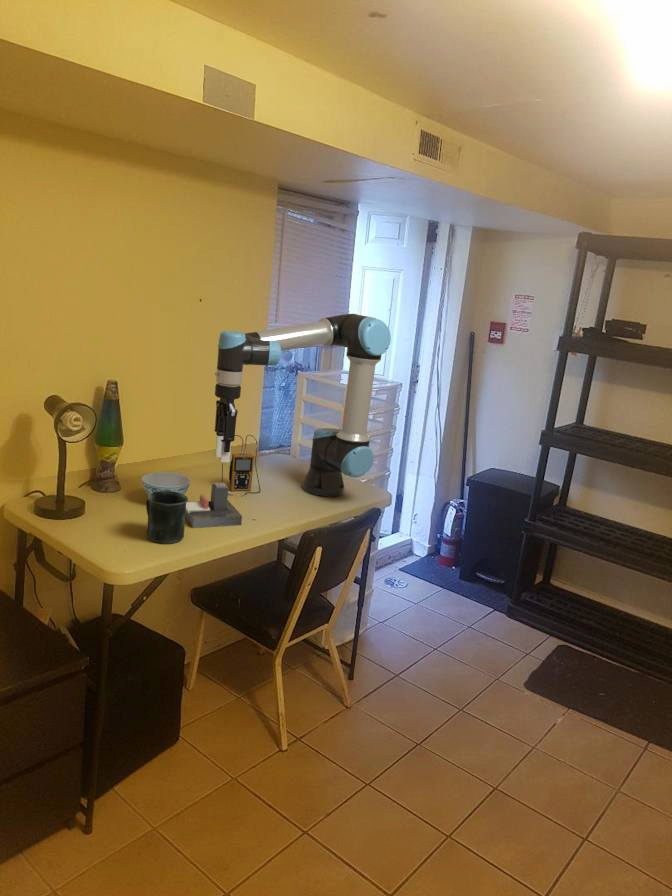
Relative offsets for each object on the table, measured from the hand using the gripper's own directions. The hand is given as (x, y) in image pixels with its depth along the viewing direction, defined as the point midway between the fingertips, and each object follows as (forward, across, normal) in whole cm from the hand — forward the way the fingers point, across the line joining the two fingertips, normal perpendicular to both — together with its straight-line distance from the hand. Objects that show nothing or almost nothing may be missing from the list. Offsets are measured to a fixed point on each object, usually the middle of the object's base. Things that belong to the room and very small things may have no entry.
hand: (222, 459), depth 212 cm
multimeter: (+19, -20, +15) cm, 31 cm away
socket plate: (+19, +1, -2) cm, 19 cm away
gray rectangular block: (+19, 0, 0) cm, 19 cm away
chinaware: (+19, -15, -13) cm, 27 cm away
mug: (+19, +12, -20) cm, 30 cm away
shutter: (+16, 0, -7) cm, 17 cm away
